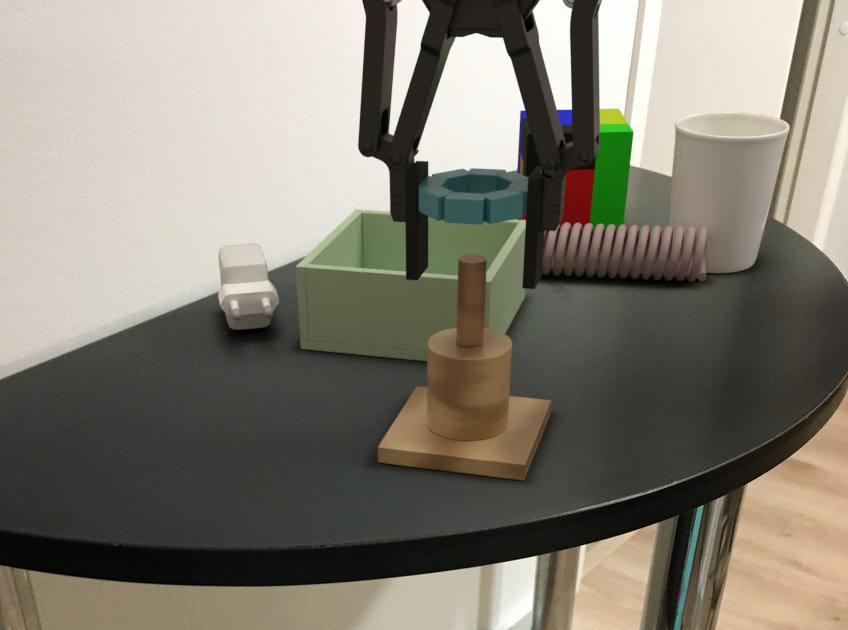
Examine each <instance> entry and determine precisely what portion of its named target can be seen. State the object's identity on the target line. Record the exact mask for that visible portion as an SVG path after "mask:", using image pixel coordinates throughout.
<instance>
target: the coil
mask: <svg viewBox="0 0 848 630" xmlns="http://www.w3.org/2000/svg"><path fill="white" fill-rule="evenodd" d="M662 230H663V233H662ZM684 232H685V230H684V228H683V227H681V226H679V227H677V229H676V230H675V235H674V241H673V229H672V227H671V226H668V225H667V226H665V228H663V229H662V227H661V226H660V225H655V226H653V228H652V230H651V227H650V226H649V225H647V224H645V225H642V226H641V228H640V229H639V226H638V225H637V224H632V225H630V227H629V229H628V226H627V225H626V224H622V225H620V226H619V228H618V230H617V234H616V227H615V225H614V224H610V225H608V227H607V229H606V232H605V227H604V225H603V224H598V225H597V226H596V227H595V230H594V227H593V225H592V224H591V223H588V224H586V225H585V226H584V229H583V227H582V225H581V224H580V223H576V224H574V226H573V228H572V227H571V224H570V223H567V222H566V223H564V224H563V225H562V227H560V224H559V226H558V227H557V229H556V231H545V236H544V252H543V268H542V275H543V276H548V275H550V273H551V269H552V274H553V275H554V276H556V277H558V276H560V275H561V274H562V270H563V275H564V276H565V277H571V275H572V274H573V271H574V275H575V277H578V278H580V277H582V276H583V275H584V273H585V275H586V276H587V278H593V277H594V275H595V273H596V276H597V277H598V278H599V279H602V278H604V277H605V276H606V275H607V277H608V278H610V279H614V278H616V277H617V276H618V277H619V278H621V279H623V280H624V279H627V277H628V276H629V277H630V278H631V279H632V280H637V279H639V277H640V275H641V278H642V280H645V281H646V280H649V279H650V278H651V277H652V278H653V280H654V281H660V280H661V279H662V278H663V279H664V280H665V281H667V282H669V281H672V280H673V279H675V280H676V281H677V282H682V281H683V280H684V279H686V280H687V281H688V282H694V281H696V279H697V280H698V281H699V282H704V281H706V280H707V277H708V276H707V273H706V267H705V264H706V244H707V233H708V230H707V228H705V227H702V228H700V230H699V233H698V238H697V244H696V249H695V239H696V229H695V228H694V227H690V228H688V230H687V234H686V239H685V245H684ZM672 242H673V246H672ZM683 248H684V250H683Z"/></svg>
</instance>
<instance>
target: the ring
mask: <svg viewBox="0 0 848 630" xmlns="http://www.w3.org/2000/svg"><path fill="white" fill-rule="evenodd" d="M528 178H529V177H526V176H524V175H521V174H519V173H517V171H513V170H512V171H511V170H510V171H507V170H506V169H497V168H476V167H475V168H474V167H471V168H469V170H467V169H465V168H458V169H453V170H448V171H447V170H446V171H441V172H437V173H432V174H431V175H428V176H427V177H426V178H425V179H424V180H423V181H422V182H421V183H420V184H419V186H418V209H419V212H421V213H423V214H425V215H427V216H429V217H431V218H433V219H435V220H437V221H440V220H444V222H445V223H461V224H478V225H482V224H483V223H484V221H485V222H487V223H489V224H493V223H498V222H503V221H508V220H513V219H514V220H517V219H518V218H522V216H523V215H526V209H527V190H528Z"/></svg>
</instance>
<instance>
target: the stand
mask: <svg viewBox="0 0 848 630" xmlns="http://www.w3.org/2000/svg"><path fill="white" fill-rule="evenodd" d="M486 265H487V259H486V257H484V256H482V255H477V254H468V255H463V256H461V257H459V259H458V285H457V328H451V329H446V330H443V331H440V332H438V333H436V334H434V335H433V336H431V337H430V338H429V340H428V343H427V361H426V386H418V385H417V386H416V387H415V388H414V389H413V391H412V392H411V394H410V396H409V397H408V399H407V400H406V402H405V404H404V405H403V406H402V408H401V410H400V411H399V413H398V415H397V416H396V417H395V419H394V420H393V422H392V424H391V426H390V427H389V428H388V430H387V432H386V433H385V435H384V436H383V438H382V440H381V441H380V443H379V444H378V445H377V463H378V464H386V465H387V464H388V465H395V466H403V467H410V468H418V469H426V470H435V471H443V472H451V473H452V472H453V473H459V474H468V475H474V476H475V475H476V476H484V477H491V478H499V479H507V480H508V479H509V480H516V481H525V479H526V478H527V476H528V472H529V470H530V467H531V464H532V462H533V459H534V457H535V455H536V452H537V450H538V447H539V444H540V441H541V439H542V437H543V434H544V432H545V430H546V427H547V425H548V422H549V419H550V417H551V410H552V400H551V399H542V398H532V397H525V396H524V397H523V396H514V395H513V396H512V395H511V378H512V376H511V375H512V357H513V341H512V339H511V338H510V336H509V335H507V334H506V333H505V334H504V333H502V332H499V331H496V330H493V329H488V328H484V317H485V291H486Z"/></svg>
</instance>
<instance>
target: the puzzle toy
mask: <svg viewBox="0 0 848 630" xmlns="http://www.w3.org/2000/svg"><path fill="white" fill-rule="evenodd" d="M557 112H558V116H559V120H560V124H561V128H562V131H563V135H564V139H565V143H566V144H567V143H570V142H573V132H572V109H557ZM518 128H519V129H518V130H519V131H518V150H517V151H518V152H517V166H516V167H517V168H516V169H517V170H516V173H519V174H521V175H524V176H526V177H529V176H530V175H531V173H532V172H533V171H534V169H535V168H536V166H540V162H539V158H538V155H537V151H536V148H535V144H534V140H533V137H532V133H531V130H530V126H529V122H528V119H527V115H526V111H525V110H519V127H518ZM633 139H634V130H633V129H632V127H631V125H630V123H629V122H628V121H627V119H626V118H625V116H624V114H623V113H622V112H621V109H620V108H600V148H599V150H598V152H597V154H596V156H595V158H594V159H593V161H592V163H591V164H590V165H588V166H585V167H581V166H580V167H577V168H574V169H572V170H569V171H568V172H567V173H566V183H565V197H564V211H563V217H562V219H561V222H560V227H562V225H563V224H564V223H566V222H567V223H570V224H571V227H572V228H573V226H574V224H576V223H580V224H581V225H582V227H583V229H584V226H585V225H586V224H588V223H591V224H592V225H593V227H594V230H595V227H596V226H597V225H598V224H603V225H604V227H605V232H606V229H607V227H608V225H610V224H614V225H615V227H616V234H617V230H618V228H619V226H620V225H622V224H623V225H625V224H624V222H625V216H626V215H625V214H626V205H627V197H628V195H627V194H628V187H629V179H630V178H629V177H630V167H631V159H632V150H633V149H632V148H633V141H634V140H633ZM540 167H541V166H540ZM516 220H526V215H523V216H522V218H518V219H516Z"/></svg>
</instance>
